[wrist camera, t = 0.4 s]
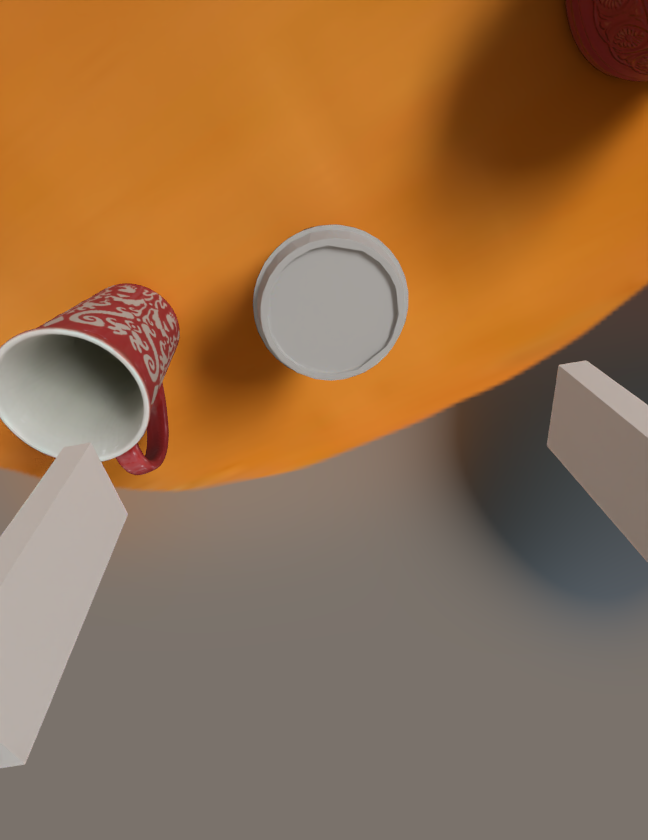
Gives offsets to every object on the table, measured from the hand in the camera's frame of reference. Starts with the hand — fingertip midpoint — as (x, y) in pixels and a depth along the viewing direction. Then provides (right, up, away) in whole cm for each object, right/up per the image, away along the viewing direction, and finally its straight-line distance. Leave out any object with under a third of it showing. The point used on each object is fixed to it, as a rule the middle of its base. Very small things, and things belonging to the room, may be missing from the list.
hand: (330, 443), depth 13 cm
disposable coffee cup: (-1, +13, +24) cm, 27 cm away
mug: (-16, +7, +26) cm, 31 cm away
